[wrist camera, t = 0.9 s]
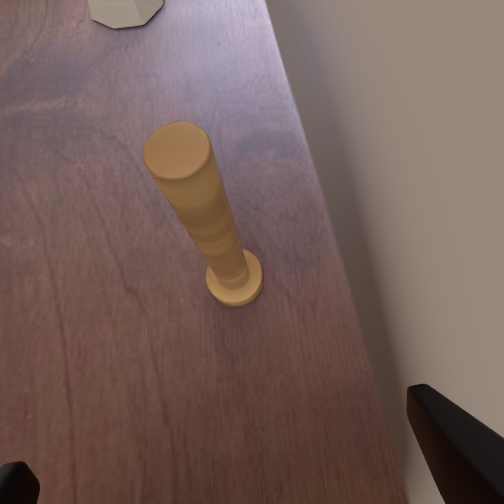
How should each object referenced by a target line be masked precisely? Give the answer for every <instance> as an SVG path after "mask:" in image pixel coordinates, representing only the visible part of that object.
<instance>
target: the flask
mask: <svg viewBox="0 0 504 504" xmlns="http://www.w3.org/2000/svg"><path fill="white" fill-rule="evenodd" d="M88 3H89V10H90V16H91V19H93V20H95V21H98V22H100V23H102V24H104V25H107V26H109V27H111V28H113V29H115V28H123V27H131V26H138V25H144V24H145V23H146V22H147V21H148V20H149V19H150V18H151V17H152V16H153V15H154V14H155V13H156V12H157V11H158V10H159V9H160V8H161V6H162V5H163V0H88Z"/></svg>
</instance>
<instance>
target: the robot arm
mask: <svg viewBox="0 0 504 504" xmlns="http://www.w3.org/2000/svg"><path fill="white" fill-rule="evenodd" d="M407 416H408V419H409V422H410V424H411V427H412V429H413V432H414V434H415V436H416V439H417V441H418V443H419V446H420V448H421V450H422V453H423V455H424V457H425V460H426V462H427V464H428V467H429V469H430V471H431V474H432V476H433V478H434V481H435V483H436V485H437V487H438V490H439V492H440V494H441V496H442V497H443V500H444V502H445V504H504V438H503V437H502V436H500V435H499V434H497V433H496V432H495V431H493V430H492V429H490V428H489V427H487V426H486V425H485V424H483V423H482V422H480V421H479V420H477V419H476V418H475V417H473V416H472V415H470V414H469V413H468V412H466V411H465V410H463V409H462V408H460V407H459V406H458V405H456V404H455V403H453V402H452V401H450V400H449V399H447V398H446V397H445V396H443V395H442V394H440V393H439V392H437V391H436V390H435V389H433V388H432V387H430V386H429V385H427V384H418V385H413V386H409V387H408V389H407ZM39 492H40V484H39V481H38V479H37V478H36V476H35V475H34V474H33V472H32V471H31V470H30V468H29V467H28V465H27V464H26V463H25V462H23V461H18V462H12V463H7V464H5V465H3V466H1V467H0V504H37V501H38V497H39Z"/></svg>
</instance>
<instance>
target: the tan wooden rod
mask: <svg viewBox="0 0 504 504" xmlns="http://www.w3.org/2000/svg"><path fill="white" fill-rule="evenodd" d="M143 159H144V163H145V165H146V167H147V169H148V170H149V172H150V174H151V175H152V177H153V178H154V180H155V181H156V183H157V185H158V186H159V188H160V189H161V191H162V192H163V194H164V195H165V197H166V199H167V200H168V202H169V203H170V205H171V206H172V208H173V210H174V211H175V213H176V214H177V216H178V217H179V219H180V221H181V222H182V224H183V225H184V227H185V228H186V230H187V232H188V233H189V235H190V236H191V238H192V239H193V241H194V242H195V244H196V246H197V247H198V249H199V250H200V252H201V253H202V255H203V257H204V258H205V260H206V261H207V263H208V264H209V265H208V267H207V270H206V282H207V286H208V288H209V290H210V291H211V293H212V294H213V295H214V296H215V298H216V299H217V300H218V301H220V302H221V303H223V304H225V305H227V306H232V307H240V306H244V305H247V304H249V303H250V302H252V301H253V300H254V299H255V298H256V297H257V296H258V295H259V293H260V291H261V289H262V286H263V274H262V268H261V265H260V263H259V261H258V259H257V258H256V257H255V256H254V255H253V254H252V253H251V252H249V251H247V250H245V249H242V245H241V242H240V239H239V235H238V232H237V229H236V225H235V222H234V219H233V215H232V212H231V209H230V205H229V202H228V199H227V195H226V192H225V189H224V185H223V182H222V179H221V175H220V172H219V169H218V165H217V162H216V158H215V155H214V152H213V148H212V145H211V142H210V139H209V137H208V135H207V133H206V132H205V131H204V130H203V129H202V128H200V127H199V126H197V125H195V124H193V123H190V122H184V121H178V122H172V123H168V124H165V125H163V126H161V127H160V128H158V129H157V130H155V131H154V132H153V133H152V134H151V135H150V136H149V138H148V139H147V141H146V143H145V146H144V150H143Z"/></svg>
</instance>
